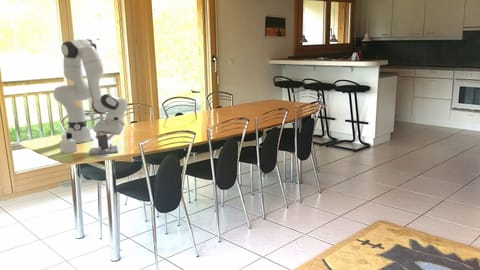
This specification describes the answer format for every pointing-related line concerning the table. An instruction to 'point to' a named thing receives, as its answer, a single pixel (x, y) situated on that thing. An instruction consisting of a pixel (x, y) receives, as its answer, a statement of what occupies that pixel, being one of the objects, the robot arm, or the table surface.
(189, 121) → the table surface
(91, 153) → the pin dock
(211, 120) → the table surface
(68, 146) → the medicine bottle
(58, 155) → the table surface
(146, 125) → the table surface
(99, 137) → the plug housing
